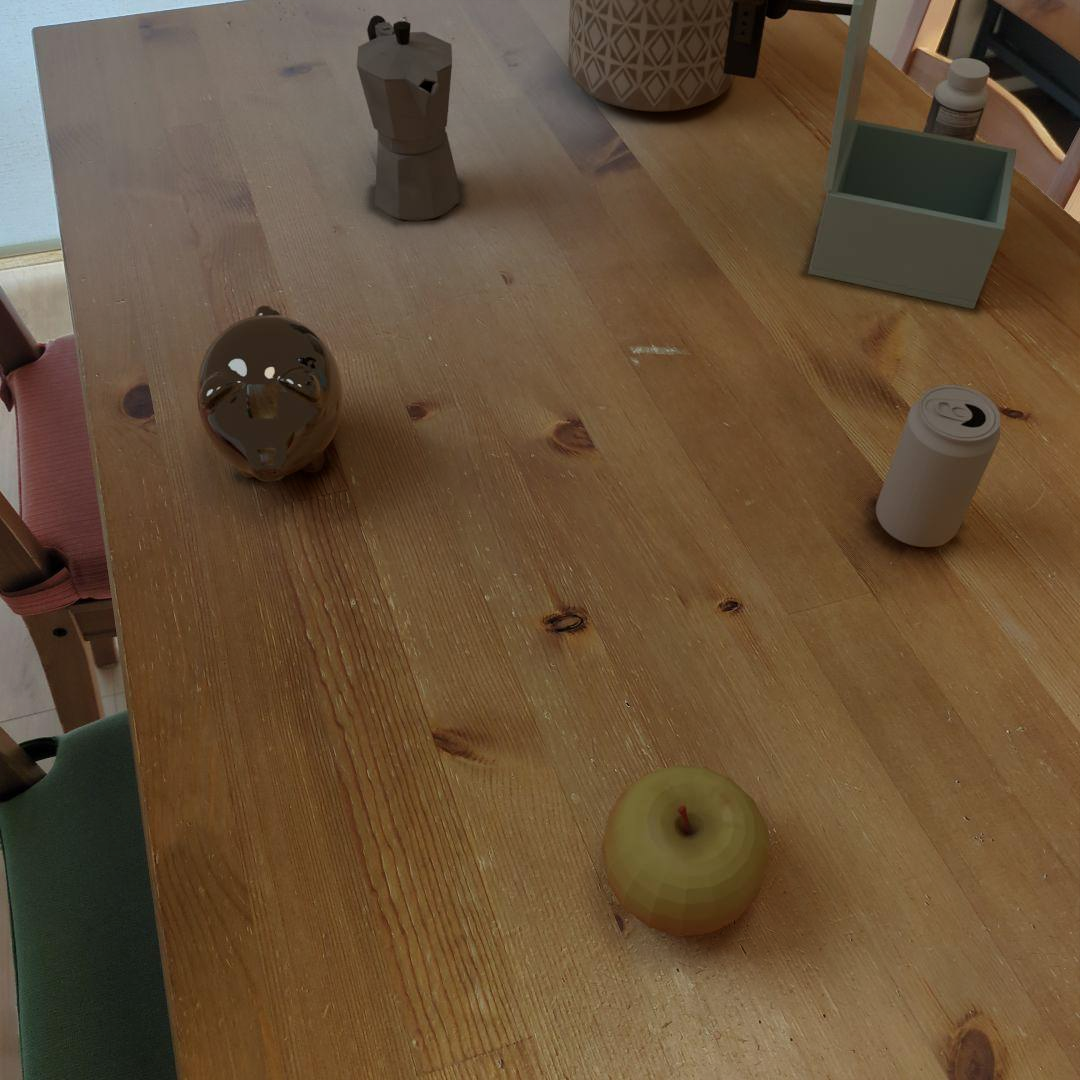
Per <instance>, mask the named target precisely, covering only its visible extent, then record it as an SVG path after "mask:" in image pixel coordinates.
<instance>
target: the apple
mask: <svg viewBox="0 0 1080 1080" xmlns="http://www.w3.org/2000/svg"><path fill="white" fill-rule="evenodd" d="M607 815H608V816H607V819H606V825H605V831H604V834H603V835H604V836H603V841H602V845H601V852H602V858H603V864H604V868H605V874H606V879H607V883H608V886H609V888H610V889H611V890H612V892H613V894H614V895H615V896H616V898H617V899H618V901H619V903H620V904H621V906H622V907H623V909H624V910H625V911H627V912H628V913H629V914H631V915H632V916H633V917H634V918H636V919H637V920H639V921H640V922H641V923H643V924H644V925H645V926H647V927H648V928H651V929H654V930H658V931H660V932H661V931H662V932H665V933H667V934H673V935H676V936H679V937H681V936H691V935H703V934H704V935H705V934H711V933H713V932H715V931H718V930H720V929H721V928H723V927H725V926H727V925H729V924H731V923H734V922H735V921H737V920H738V919H739V918H741V916H742V914H743V913H744V912H745V911H747V909H748V907H749V906H750V905H751V904H752V903H753V902H754V900H756V898H757V897H758V895H759V894H760V892H761V889H762V886H763V882H764V880H765V876H766V873H767V869H768V866H769V863H770V857H771V849H770V842H769V841H770V839H769V830H768V825H767V823H766V821H765V818H764V817H763V815H762V812H761V811H760V809H759V807H758V805H757V803H756V801H755V800H754V798H753V797H751V796H750V795H749V794H748V793H747V792H746V791H745V790H744V789H743V788H742V787H740V785H738V783H736V782H735V781H734V780H733V779H732V778H731V777H729V776H727V775H724V774H722V773H720V772H718V771H716V770H713V769H711V768H709V767H706V766H699V765H690V764H689V765H686V764H675V765H671V766H667V767H663V768H659V769H656V770H652V771H649V772H647V773H645V774H644V775H643V776H641V777H640V778H638V779H637V780H635V781H634V782H632V783H631V784H629V785H628V786H626V787H625V788H624V789H623V790H622V792H621V794H620V796H618V798H617V800H616V801H615V802H614V804H613V806H612V807H611V809H610V810H609V812H608V814H607Z"/></svg>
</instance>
